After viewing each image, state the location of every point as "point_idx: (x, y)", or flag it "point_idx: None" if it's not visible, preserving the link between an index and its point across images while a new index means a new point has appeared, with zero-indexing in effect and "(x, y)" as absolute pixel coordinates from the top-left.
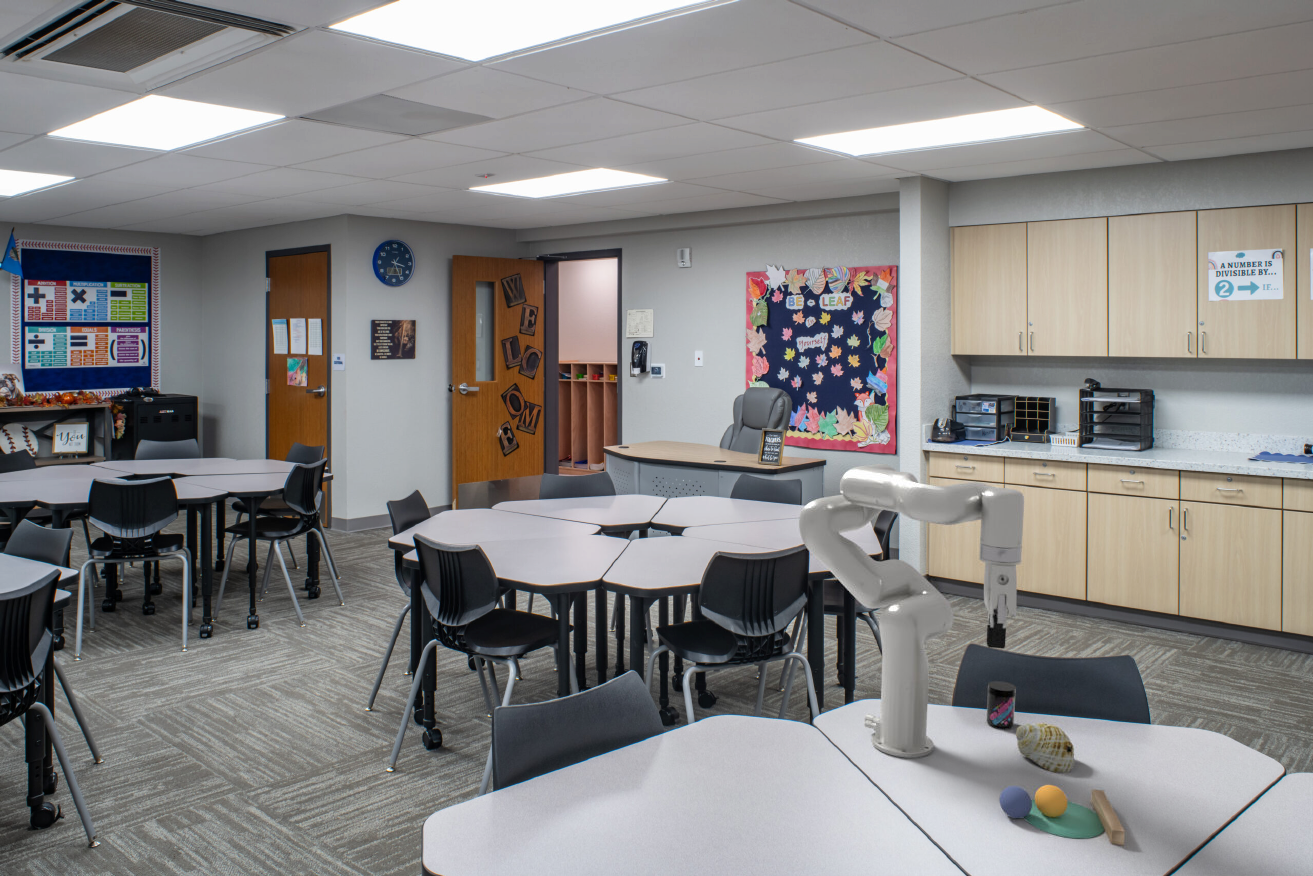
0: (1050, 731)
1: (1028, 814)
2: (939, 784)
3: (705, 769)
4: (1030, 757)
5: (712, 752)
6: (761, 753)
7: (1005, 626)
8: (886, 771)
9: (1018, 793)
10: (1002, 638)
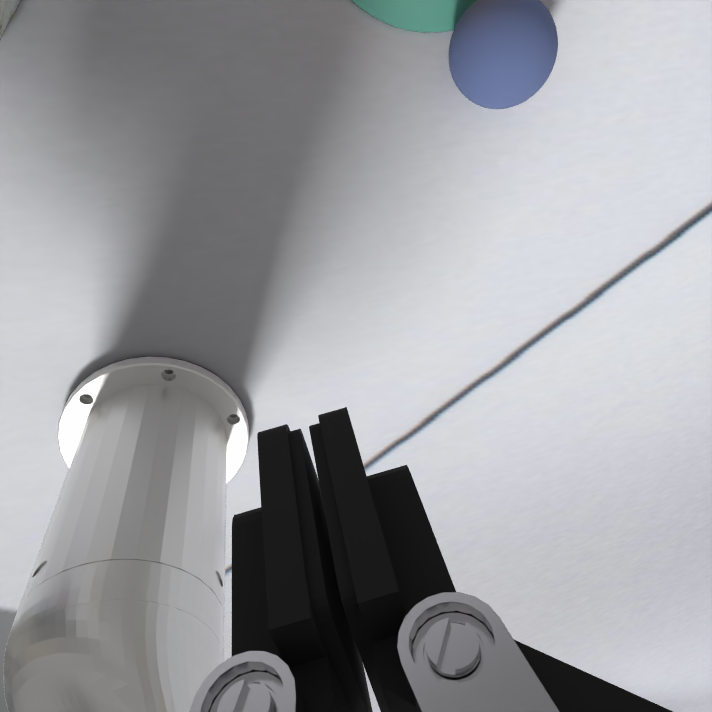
0: None
1: (463, 2)
2: (360, 290)
3: None
4: (5, 25)
5: None
6: None
7: (503, 630)
8: None
9: (549, 43)
10: (373, 500)
